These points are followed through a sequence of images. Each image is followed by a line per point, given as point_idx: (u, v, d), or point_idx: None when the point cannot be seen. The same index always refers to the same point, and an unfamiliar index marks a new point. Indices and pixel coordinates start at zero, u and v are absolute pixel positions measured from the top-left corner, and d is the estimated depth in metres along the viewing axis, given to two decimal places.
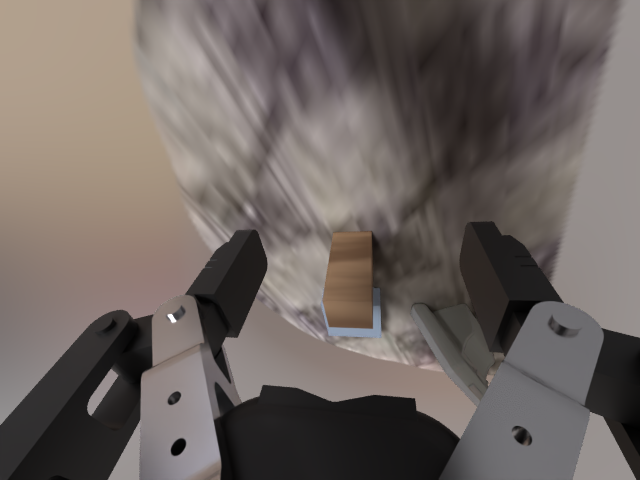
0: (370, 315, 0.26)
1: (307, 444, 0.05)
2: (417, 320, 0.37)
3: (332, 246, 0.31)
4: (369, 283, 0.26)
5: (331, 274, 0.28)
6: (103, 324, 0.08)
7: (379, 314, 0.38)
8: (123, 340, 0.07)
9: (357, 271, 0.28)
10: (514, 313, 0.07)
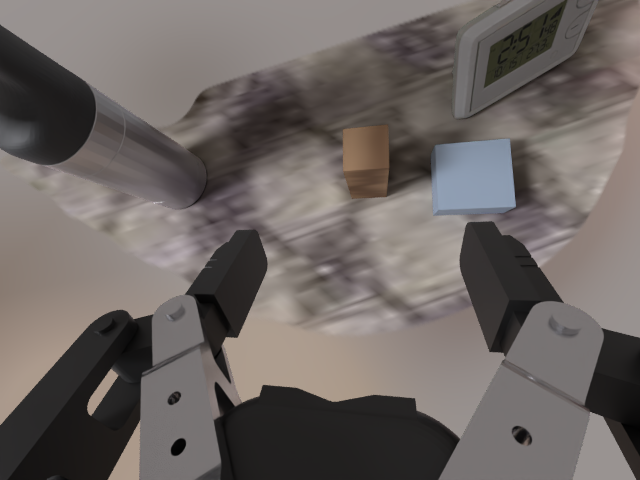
0: (364, 128, 0.28)
1: (307, 444, 0.05)
2: (460, 104, 0.33)
3: (350, 192, 0.35)
4: None
5: None
6: (103, 324, 0.08)
7: (453, 144, 0.33)
8: (123, 340, 0.07)
9: None
10: (514, 313, 0.07)
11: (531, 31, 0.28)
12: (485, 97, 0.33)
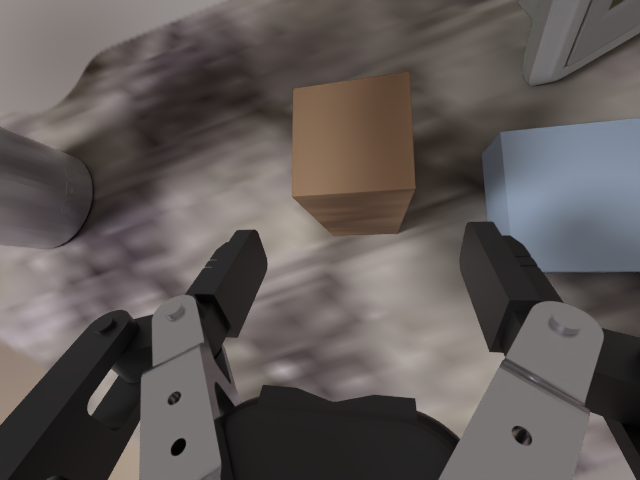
0: (347, 84, 0.11)
1: (307, 444, 0.05)
2: (550, 50, 0.16)
3: None
4: None
5: None
6: (103, 324, 0.08)
7: (540, 130, 0.15)
8: (123, 340, 0.07)
9: None
10: (514, 313, 0.07)
11: None
12: (603, 34, 0.16)
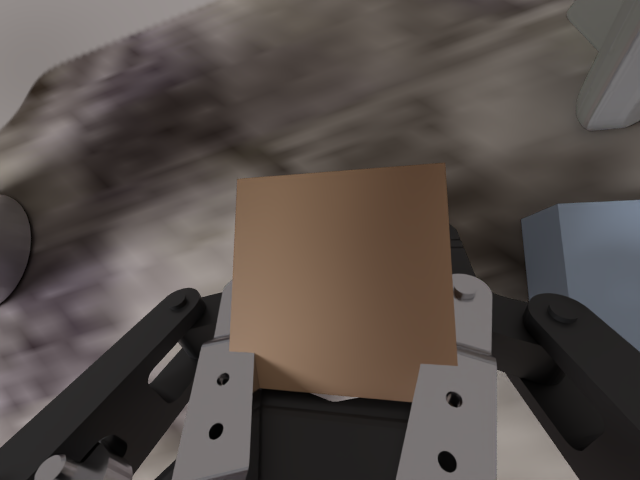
0: (330, 178, 0.06)
1: (307, 444, 0.05)
2: (627, 89, 0.11)
3: None
4: None
5: None
6: (176, 300, 0.08)
7: (617, 204, 0.11)
8: (196, 315, 0.08)
9: None
10: None
11: None
12: None
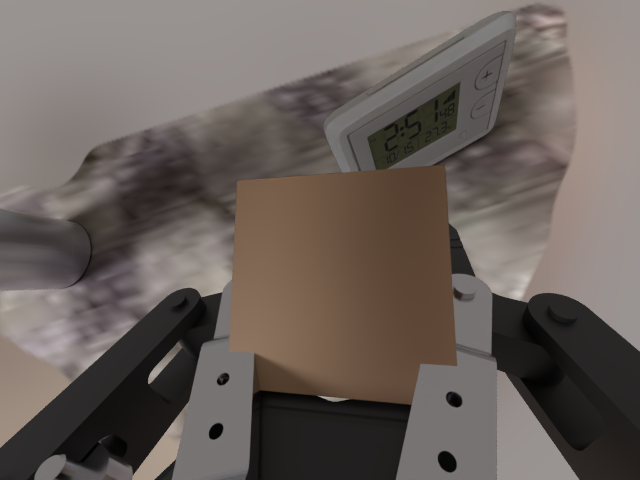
0: (329, 180, 0.06)
1: (307, 444, 0.05)
2: None
3: None
4: None
5: None
6: (176, 301, 0.08)
7: None
8: (196, 316, 0.08)
9: None
10: None
11: (421, 117, 0.23)
12: None
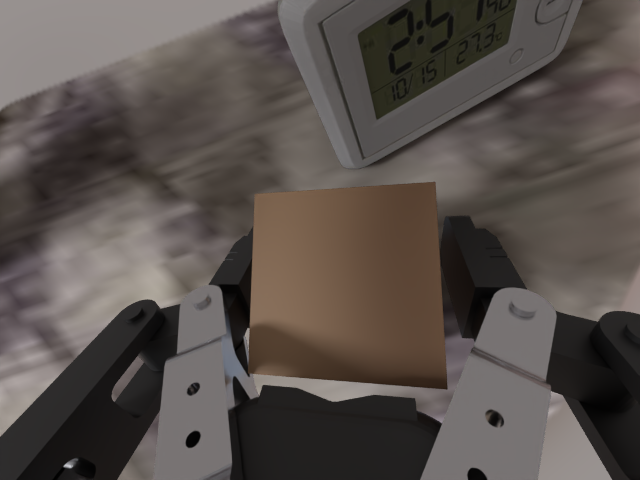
0: (336, 194, 0.07)
1: (307, 444, 0.05)
2: (339, 147, 0.18)
3: None
4: None
5: None
6: (132, 313, 0.08)
7: None
8: (152, 328, 0.08)
9: None
10: (481, 299, 0.07)
11: (454, 4, 0.13)
12: (386, 135, 0.18)
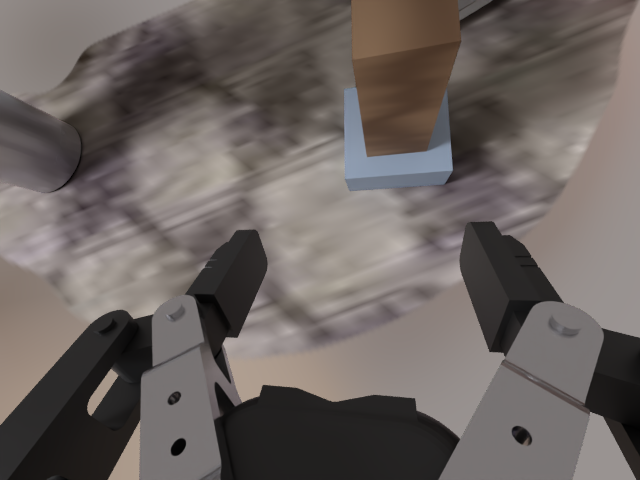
0: None
1: (307, 444, 0.05)
2: None
3: (364, 139, 0.20)
4: None
5: None
6: (103, 324, 0.08)
7: None
8: (123, 340, 0.07)
9: None
10: (514, 313, 0.07)
11: None
12: None
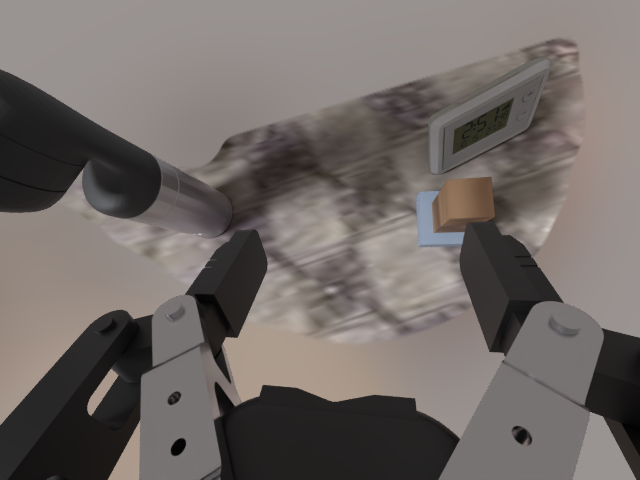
0: (468, 179, 0.31)
1: (307, 444, 0.05)
2: (434, 165, 0.42)
3: (436, 229, 0.38)
4: (443, 187, 0.33)
5: (443, 220, 0.34)
6: (103, 324, 0.08)
7: (432, 192, 0.41)
8: (123, 340, 0.07)
9: (441, 200, 0.35)
10: (514, 313, 0.07)
11: (487, 118, 0.37)
12: (454, 160, 0.42)
